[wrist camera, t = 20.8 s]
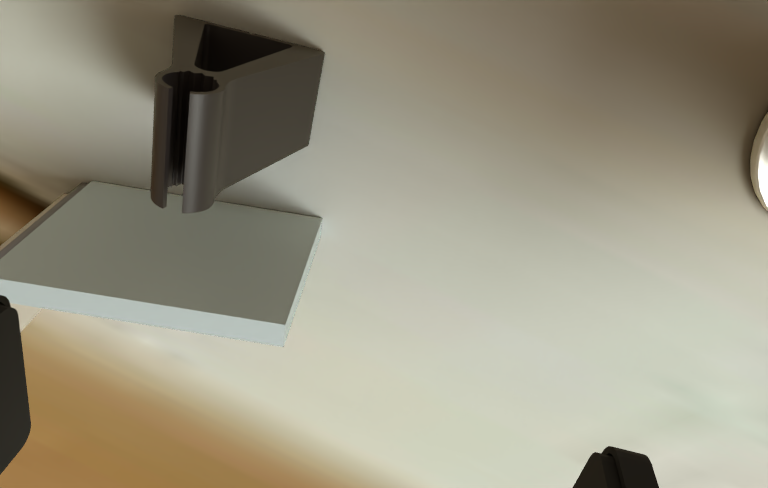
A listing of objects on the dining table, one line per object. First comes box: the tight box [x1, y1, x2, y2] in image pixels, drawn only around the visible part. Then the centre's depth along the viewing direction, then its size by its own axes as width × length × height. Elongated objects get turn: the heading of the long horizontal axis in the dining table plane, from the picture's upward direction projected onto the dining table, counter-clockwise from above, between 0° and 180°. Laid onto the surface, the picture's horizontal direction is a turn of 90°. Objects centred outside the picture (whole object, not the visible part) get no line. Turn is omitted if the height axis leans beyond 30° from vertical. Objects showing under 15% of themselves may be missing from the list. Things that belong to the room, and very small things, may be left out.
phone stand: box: [151, 15, 325, 213], centre depth 33 cm, size 9×6×12 cm, turn 77°
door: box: [0, 181, 322, 347], centre depth 38 cm, size 17×2×13 cm, turn 82°
